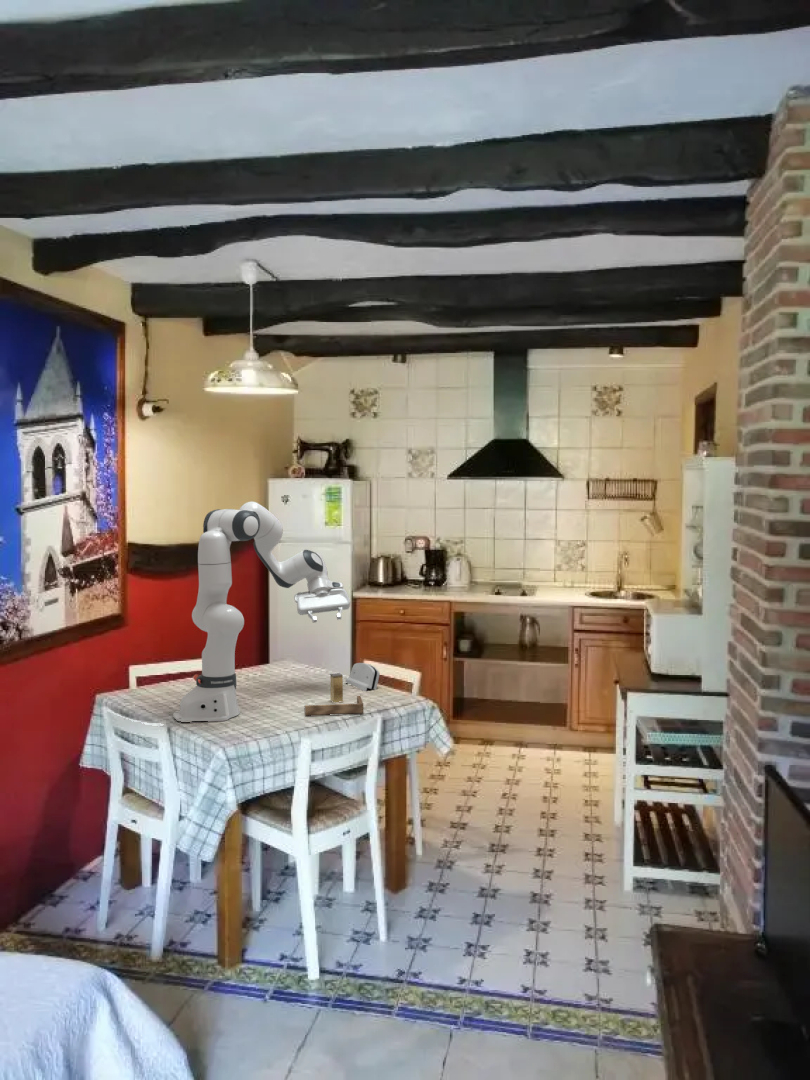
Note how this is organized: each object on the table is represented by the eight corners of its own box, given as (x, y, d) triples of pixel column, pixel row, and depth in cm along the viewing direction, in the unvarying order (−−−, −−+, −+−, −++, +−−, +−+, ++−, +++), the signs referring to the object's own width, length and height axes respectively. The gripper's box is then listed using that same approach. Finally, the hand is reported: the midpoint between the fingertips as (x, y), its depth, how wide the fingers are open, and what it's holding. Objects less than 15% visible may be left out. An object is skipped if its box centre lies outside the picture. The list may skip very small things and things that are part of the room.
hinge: (344, 683, 348) (351, 658, 350) (354, 685, 351) (361, 661, 352) (365, 691, 334) (372, 666, 336) (375, 694, 337) (382, 668, 338)
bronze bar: (333, 703, 317) (333, 675, 316) (330, 700, 320) (330, 674, 320) (342, 702, 318) (342, 675, 318) (339, 699, 322) (339, 673, 321)
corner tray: (305, 716, 299) (305, 706, 299) (304, 707, 311) (304, 697, 311) (363, 714, 302) (363, 704, 302) (360, 705, 314) (360, 695, 314)
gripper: (293, 588, 330) (300, 618, 322) (346, 582, 335) (354, 612, 327) (292, 598, 335) (299, 628, 327) (344, 592, 340) (352, 621, 332)
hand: (327, 620), depth 327 cm, fingers open, 8 cm apart
